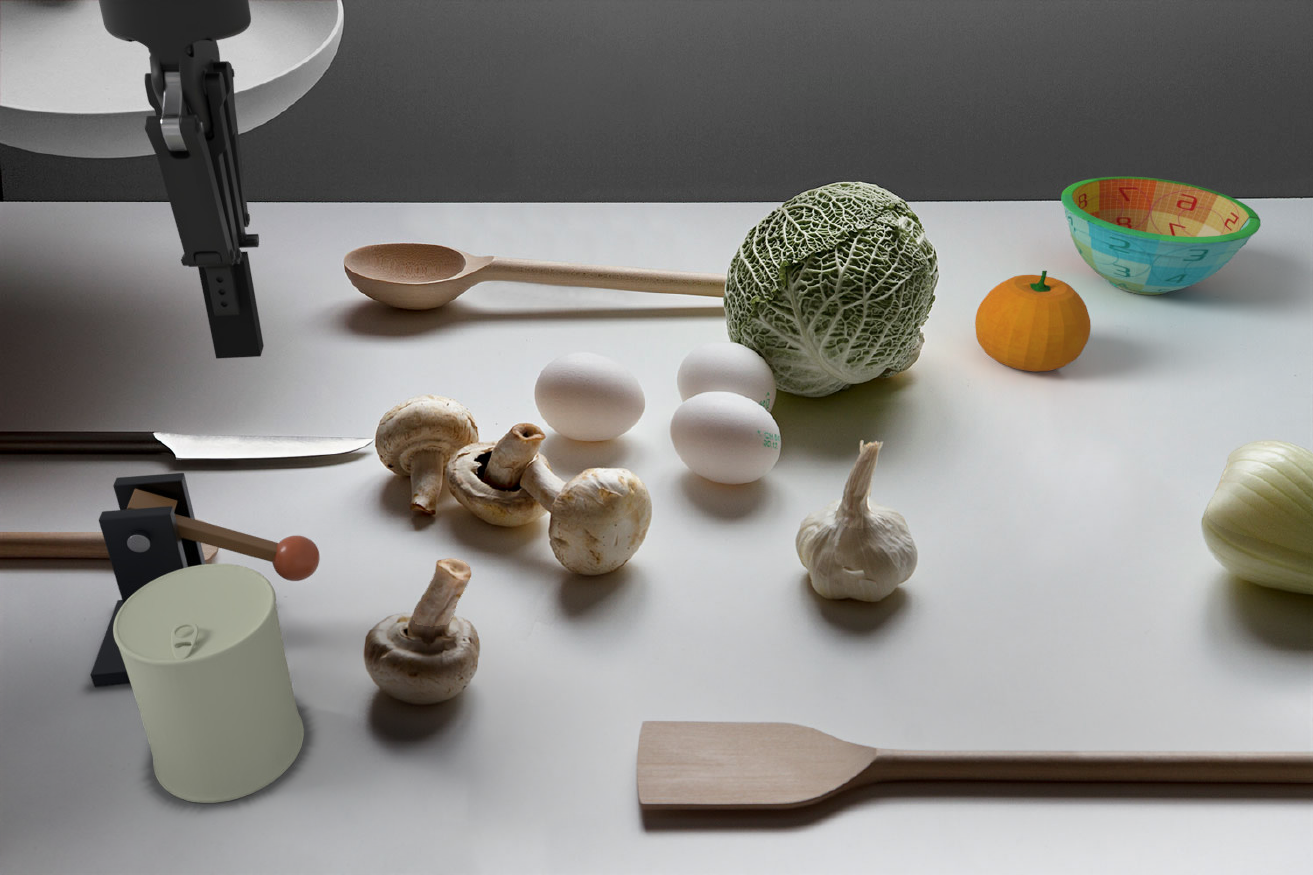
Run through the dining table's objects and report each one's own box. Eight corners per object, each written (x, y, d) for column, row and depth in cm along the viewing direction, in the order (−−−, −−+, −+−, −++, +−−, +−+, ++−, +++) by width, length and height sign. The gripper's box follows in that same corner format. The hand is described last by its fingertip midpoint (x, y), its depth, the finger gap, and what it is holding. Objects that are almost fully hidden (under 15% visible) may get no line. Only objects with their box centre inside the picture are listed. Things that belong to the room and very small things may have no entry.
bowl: (1026, 295, 136) (1042, 216, 131) (1066, 237, 153) (1081, 164, 148) (1226, 338, 127) (1252, 255, 122) (1245, 270, 144) (1268, 195, 139)
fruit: (976, 326, 129) (991, 243, 124) (1084, 344, 125) (1104, 259, 120) (962, 371, 119) (978, 283, 114) (1078, 391, 116) (1100, 302, 111)
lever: (312, 567, 82) (327, 533, 81) (308, 595, 80) (324, 561, 78) (125, 515, 77) (138, 479, 76) (114, 543, 75) (127, 506, 74)
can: (139, 812, 69) (91, 664, 62) (170, 703, 76) (130, 562, 70) (296, 795, 70) (264, 648, 64) (311, 689, 78) (283, 550, 72)
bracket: (260, 599, 86) (230, 457, 79) (245, 672, 79) (211, 524, 72) (121, 612, 84) (78, 468, 78) (94, 687, 78) (44, 537, 71)
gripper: (220, -24, 55) (289, 398, 67) (257, -63, 66) (311, 306, 78) (55, -24, 54) (156, 405, 66) (121, -64, 65) (197, 311, 77)
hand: (240, 351), depth 72 cm, fingers closed
